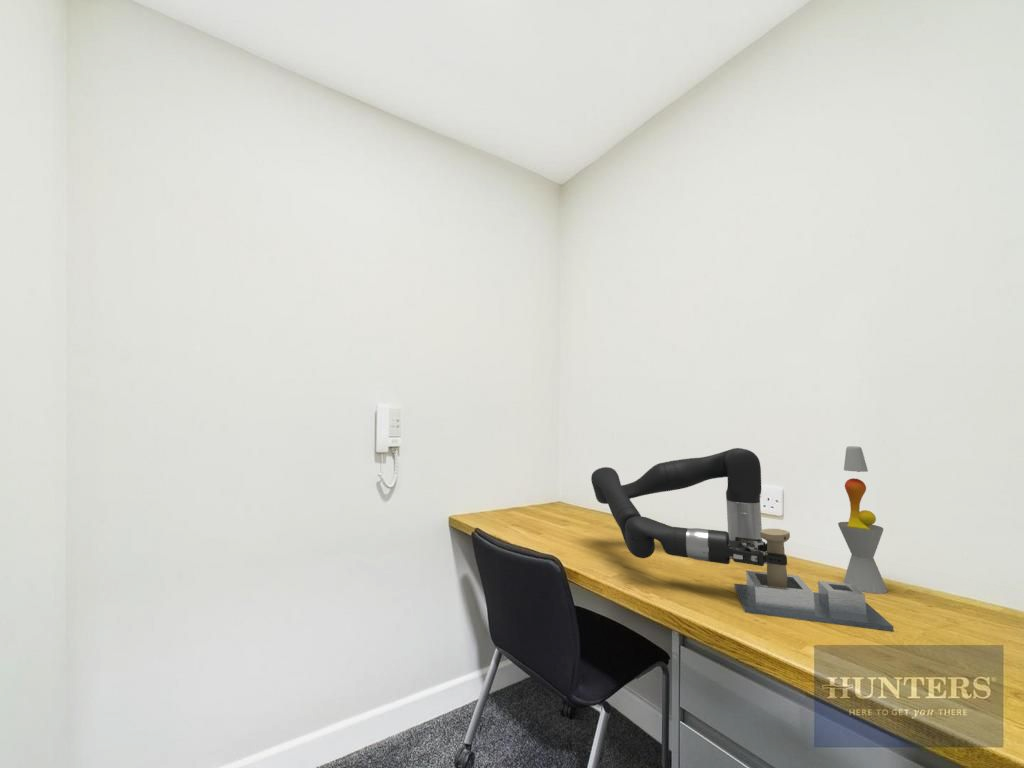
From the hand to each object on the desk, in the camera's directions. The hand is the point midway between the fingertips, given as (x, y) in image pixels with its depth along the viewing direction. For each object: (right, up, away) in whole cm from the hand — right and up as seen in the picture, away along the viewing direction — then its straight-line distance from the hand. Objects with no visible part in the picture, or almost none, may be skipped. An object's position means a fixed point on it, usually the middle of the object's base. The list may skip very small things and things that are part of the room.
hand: (785, 555), depth 97 cm
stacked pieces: (+26, -12, +10) cm, 31 cm away
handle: (-2, -10, 0) cm, 10 cm away
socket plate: (+3, -11, -2) cm, 11 cm away
